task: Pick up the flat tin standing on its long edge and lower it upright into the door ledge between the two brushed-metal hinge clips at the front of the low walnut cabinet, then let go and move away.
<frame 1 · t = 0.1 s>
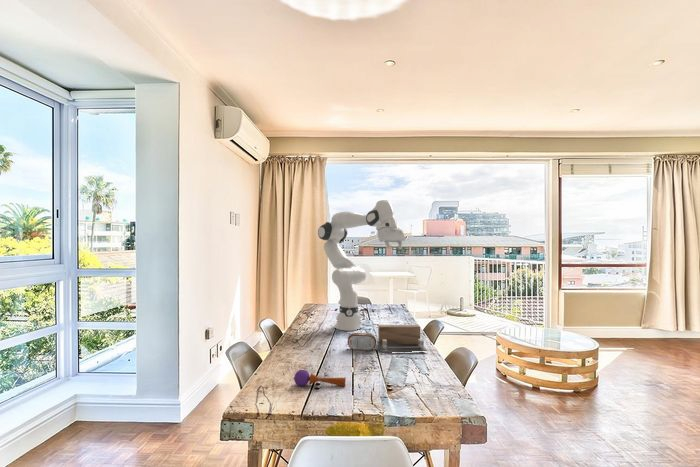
hand: (395, 249, 197), 52 cm above the table, tool tilted 20°, fingers open, 8 cm apart
tin: (361, 350, 179), on the table
cabinet: (401, 348, 183), on the table
kendama: (319, 386, 135), on the table
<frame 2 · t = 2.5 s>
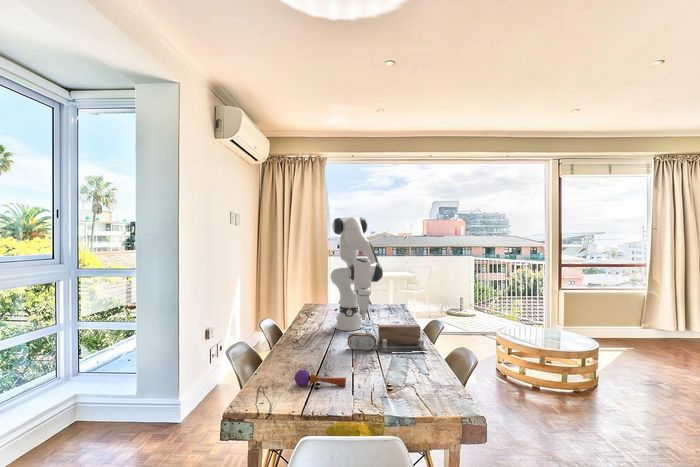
hand: (362, 316, 180), 17 cm above the table, tool pointing down, fingers open, 8 cm apart
nothing on the table moved.
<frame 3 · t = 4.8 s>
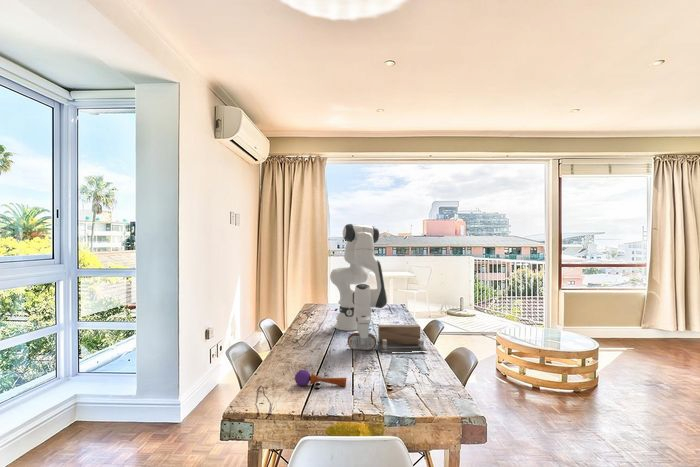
hand: (361, 342, 179), 4 cm above the table, tool pointing down, fingers closed on tin, 3 cm apart
tin: (361, 350, 179), on the table, touching gripper
everything else where it was.
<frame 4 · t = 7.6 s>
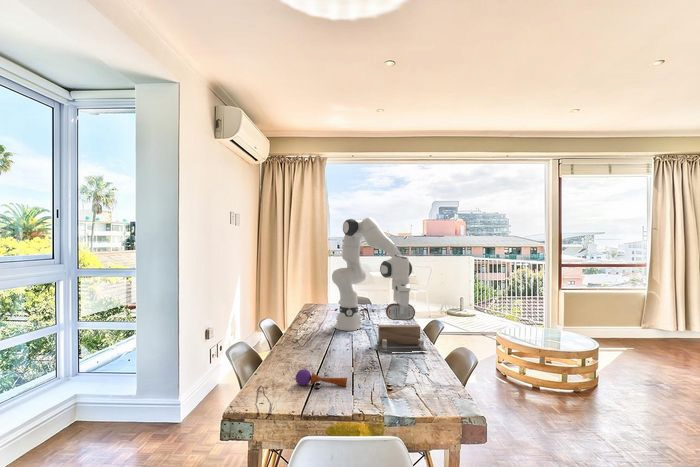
hand: (400, 312, 179), 19 cm above the table, tool pointing down, fingers closed on tin, 3 cm apart
tin: (400, 320, 178), point 16 cm above the table, touching gripper
everything else where it was.
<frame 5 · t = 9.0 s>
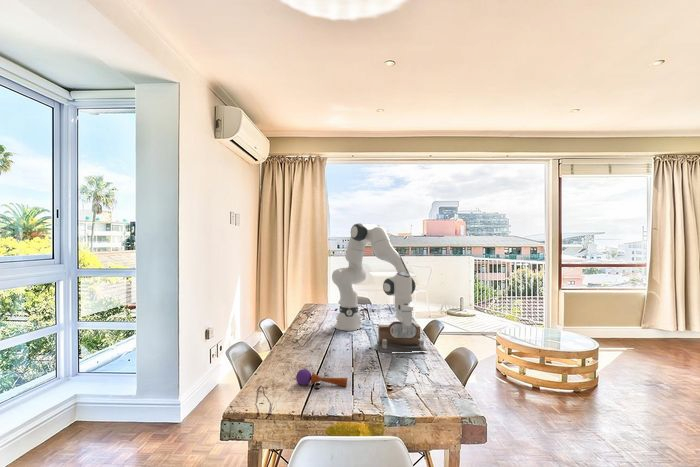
hand: (402, 331, 179), 10 cm above the table, tool pointing down, fingers closed on tin, 3 cm apart
tin: (403, 339, 179), point 6 cm above the table, touching gripper
everything else where it was.
when the fingers open (6 cm above the table, at t = 10.4 s): tin stays where it is, resting on cabinet.
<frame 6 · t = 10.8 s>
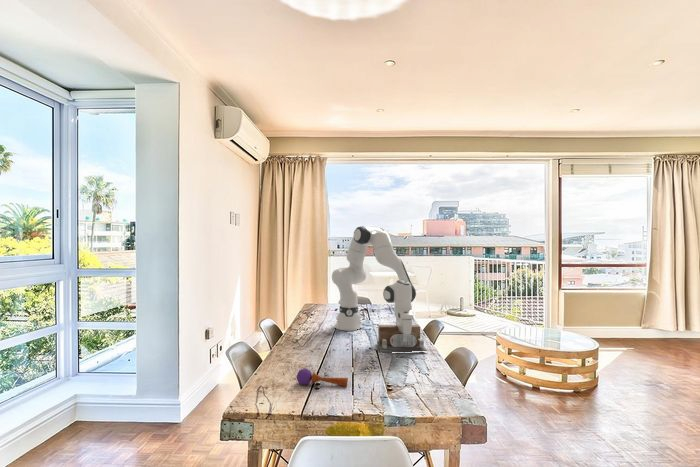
hand: (402, 339, 179), 6 cm above the table, tool pointing down, fingers open, 7 cm apart
tin: (403, 348, 178), point 1 cm above the table, touching cabinet
everything else where it was.
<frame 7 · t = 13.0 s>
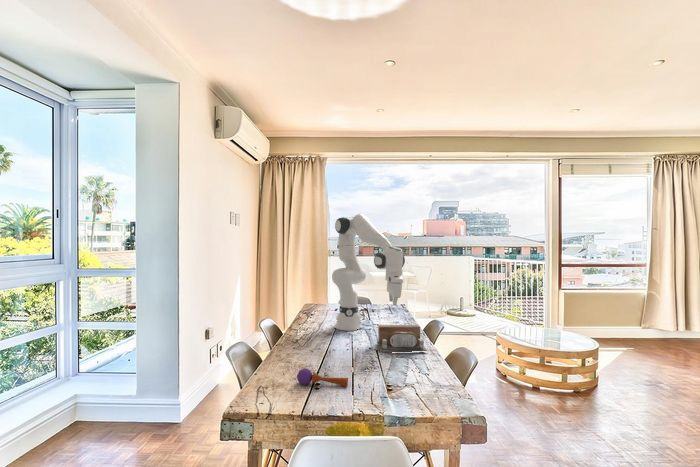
hand: (392, 303, 184), 23 cm above the table, tool pointing down, fingers open, 8 cm apart
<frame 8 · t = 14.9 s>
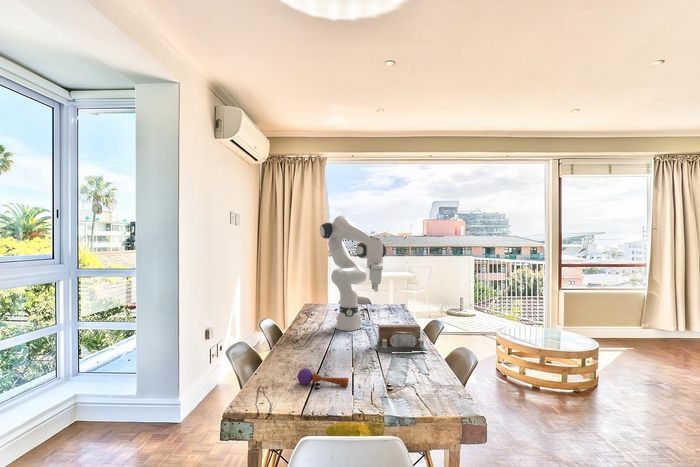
hand: (374, 290, 193), 29 cm above the table, tool pointing down, fingers open, 8 cm apart
at the end: tin 0.8 cm from the target spot on the cabinet, point 1.3 cm above the cabinet's base; tin tilted 0°; the gripper is holding nothing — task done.
